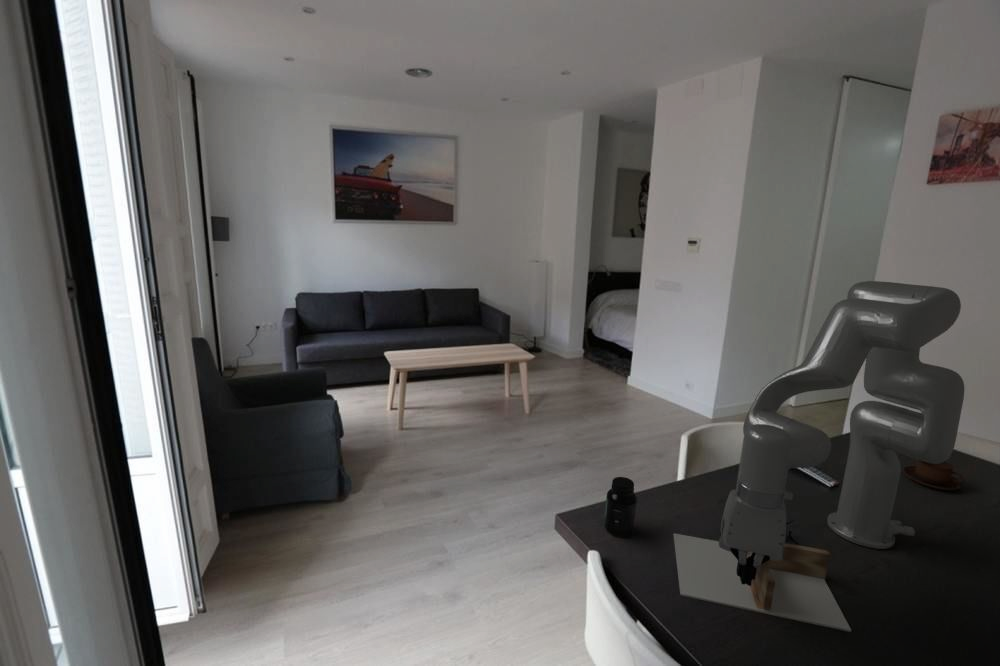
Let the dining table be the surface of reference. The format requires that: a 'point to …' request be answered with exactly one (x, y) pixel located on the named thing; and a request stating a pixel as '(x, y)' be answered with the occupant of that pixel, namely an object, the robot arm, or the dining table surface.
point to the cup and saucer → (934, 475)
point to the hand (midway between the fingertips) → (744, 579)
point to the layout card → (716, 581)
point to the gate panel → (764, 585)
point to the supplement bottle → (621, 508)
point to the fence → (802, 561)
